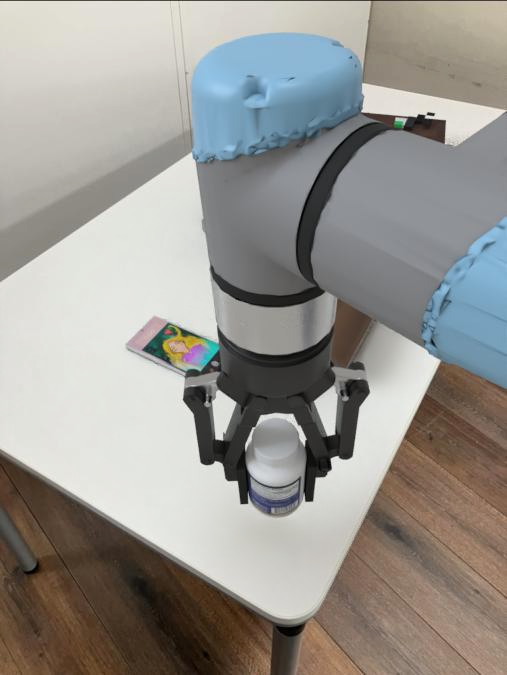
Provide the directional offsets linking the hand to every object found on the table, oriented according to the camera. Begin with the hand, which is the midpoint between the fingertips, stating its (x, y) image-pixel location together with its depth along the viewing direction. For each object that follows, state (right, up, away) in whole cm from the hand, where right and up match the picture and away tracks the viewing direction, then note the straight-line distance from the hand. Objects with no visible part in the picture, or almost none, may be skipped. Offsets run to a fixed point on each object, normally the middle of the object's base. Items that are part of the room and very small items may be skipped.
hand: (276, 489), depth 49 cm
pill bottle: (0, -1, 0) cm, 1 cm away
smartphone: (-13, +12, +26) cm, 31 cm away
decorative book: (+25, +53, +62) cm, 85 cm away
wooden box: (+9, +17, +29) cm, 34 cm away
